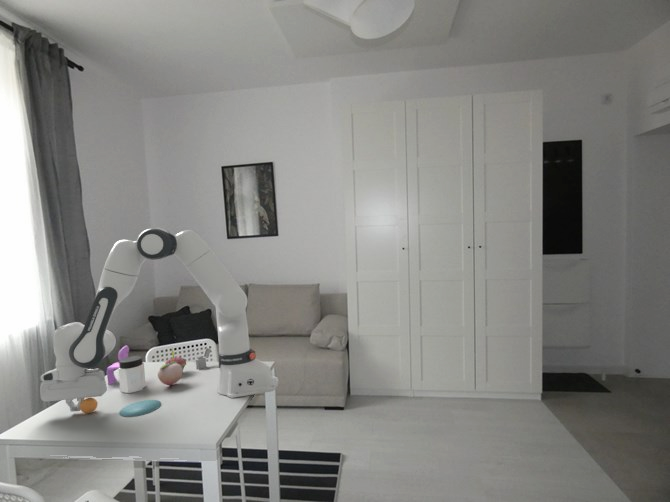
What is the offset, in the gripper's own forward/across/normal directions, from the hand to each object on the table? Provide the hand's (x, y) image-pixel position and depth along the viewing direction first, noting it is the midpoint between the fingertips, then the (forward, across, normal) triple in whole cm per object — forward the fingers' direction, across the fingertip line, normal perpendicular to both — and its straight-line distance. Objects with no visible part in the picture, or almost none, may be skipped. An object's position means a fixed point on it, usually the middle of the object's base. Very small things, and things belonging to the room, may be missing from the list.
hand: (76, 410), depth 137 cm
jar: (+1, -10, -20) cm, 22 cm away
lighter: (+2, -32, -41) cm, 52 cm away
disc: (+1, -21, 0) cm, 21 cm away
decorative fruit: (+2, -25, -20) cm, 32 cm away
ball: (-1, -4, 0) cm, 5 cm away
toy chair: (+1, -1, -30) cm, 30 cm away
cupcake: (+2, -22, -34) cm, 41 cm away
